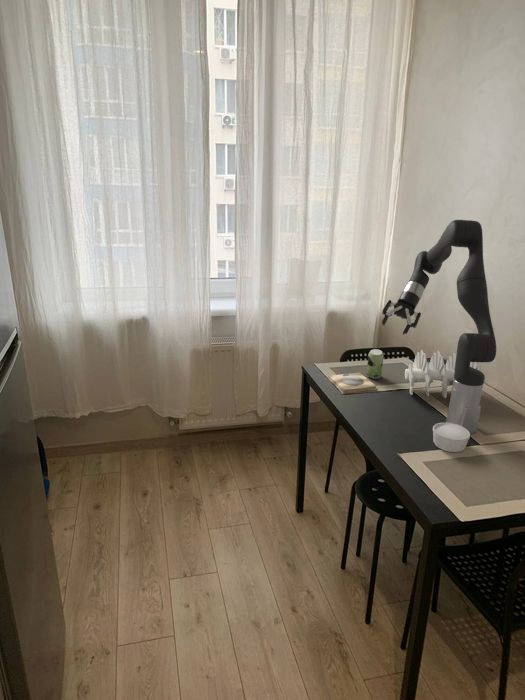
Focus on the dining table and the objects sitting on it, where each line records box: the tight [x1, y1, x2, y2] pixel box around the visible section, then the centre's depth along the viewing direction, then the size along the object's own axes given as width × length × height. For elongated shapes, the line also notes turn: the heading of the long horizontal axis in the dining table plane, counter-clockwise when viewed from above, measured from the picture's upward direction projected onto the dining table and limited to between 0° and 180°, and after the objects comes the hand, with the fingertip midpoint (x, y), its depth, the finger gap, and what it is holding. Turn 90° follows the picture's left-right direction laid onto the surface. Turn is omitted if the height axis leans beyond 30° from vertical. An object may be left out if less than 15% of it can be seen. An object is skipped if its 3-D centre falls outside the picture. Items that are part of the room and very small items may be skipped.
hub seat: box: [328, 372, 377, 394], centre depth 203 cm, size 14×14×2 cm
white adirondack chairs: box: [404, 349, 481, 398], centre depth 193 cm, size 18×18×25 cm
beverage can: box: [366, 348, 384, 380], centre depth 208 cm, size 6×7×12 cm
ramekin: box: [432, 422, 471, 453], centre depth 161 cm, size 11×11×5 cm
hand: (393, 329), depth 200 cm, fingers open, 8 cm apart
